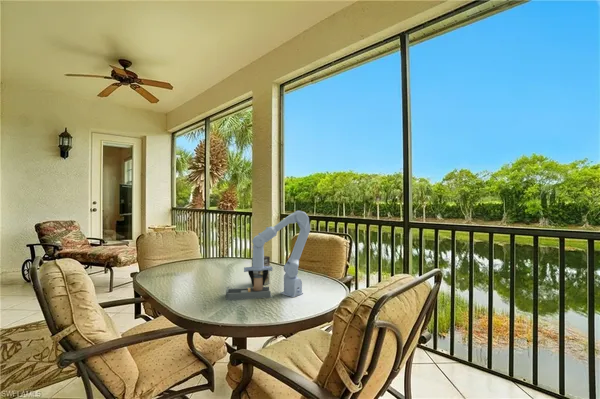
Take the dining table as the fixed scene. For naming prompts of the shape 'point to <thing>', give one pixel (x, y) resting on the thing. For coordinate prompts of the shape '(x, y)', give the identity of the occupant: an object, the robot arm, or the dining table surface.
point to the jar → (258, 282)
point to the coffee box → (266, 263)
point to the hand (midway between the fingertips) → (258, 285)
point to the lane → (247, 293)
